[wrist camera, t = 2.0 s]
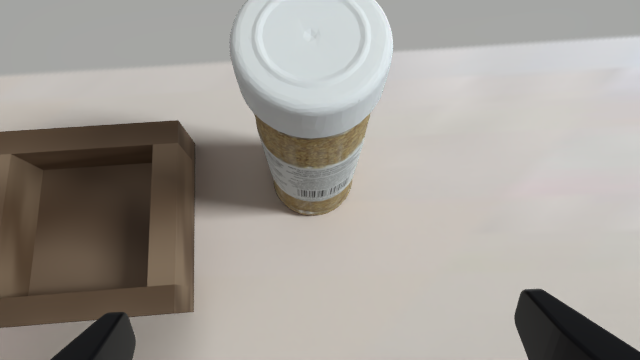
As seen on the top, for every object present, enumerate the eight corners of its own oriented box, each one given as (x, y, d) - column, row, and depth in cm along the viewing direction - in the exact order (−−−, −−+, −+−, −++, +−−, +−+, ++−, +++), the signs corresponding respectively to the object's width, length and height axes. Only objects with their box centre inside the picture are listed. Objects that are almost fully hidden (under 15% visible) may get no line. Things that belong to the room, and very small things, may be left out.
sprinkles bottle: (352, 144, 25) (396, -32, 12) (350, 220, 23) (398, 114, 10) (275, 141, 25) (234, -40, 12) (269, 216, 23) (216, 106, 10)
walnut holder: (193, 311, 22) (174, 312, 19) (7, 327, 21) (-44, 330, 18) (194, 143, 24) (178, 120, 21) (30, 154, 24) (-11, 132, 21)
